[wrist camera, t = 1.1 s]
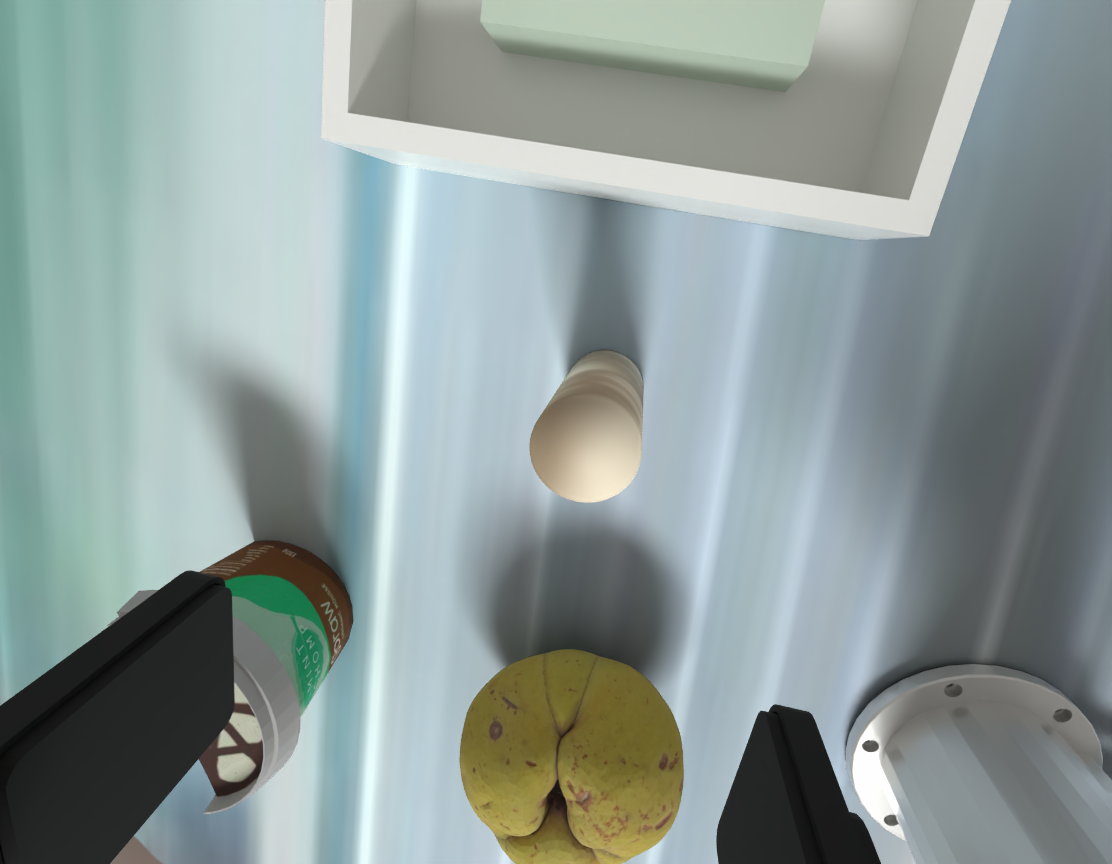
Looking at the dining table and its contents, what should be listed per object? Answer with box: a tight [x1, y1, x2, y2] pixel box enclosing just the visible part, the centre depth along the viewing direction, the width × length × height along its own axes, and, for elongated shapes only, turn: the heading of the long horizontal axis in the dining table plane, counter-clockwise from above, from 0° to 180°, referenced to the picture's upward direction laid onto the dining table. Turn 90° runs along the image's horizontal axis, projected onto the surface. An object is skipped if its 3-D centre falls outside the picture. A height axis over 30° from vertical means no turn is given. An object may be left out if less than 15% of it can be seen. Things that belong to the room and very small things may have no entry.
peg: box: [530, 350, 643, 503], centre depth 25 cm, size 4×4×10 cm
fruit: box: [460, 649, 684, 864], centre depth 31 cm, size 11×12×10 cm
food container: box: [107, 540, 353, 814], centre depth 32 cm, size 12×6×10 cm, turn 14°
